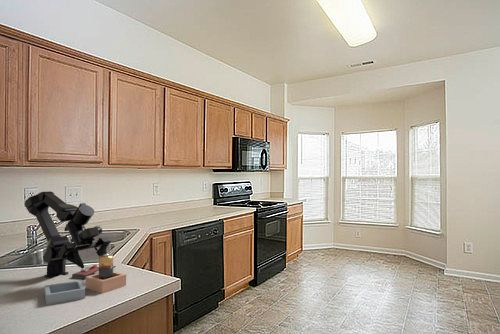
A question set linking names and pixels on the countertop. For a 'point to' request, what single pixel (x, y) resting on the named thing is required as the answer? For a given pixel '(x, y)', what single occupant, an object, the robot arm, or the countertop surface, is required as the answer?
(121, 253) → the countertop surface
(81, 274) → the walkie-talkie
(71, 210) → the robot arm
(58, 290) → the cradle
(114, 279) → the bin
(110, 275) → the cell
